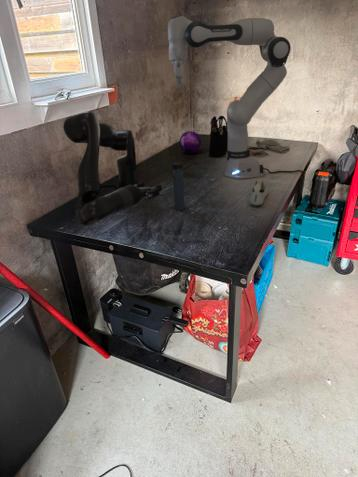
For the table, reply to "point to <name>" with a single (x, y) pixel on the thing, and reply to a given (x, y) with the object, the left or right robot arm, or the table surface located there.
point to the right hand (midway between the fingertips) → (179, 86)
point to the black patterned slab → (219, 139)
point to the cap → (177, 165)
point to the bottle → (178, 189)
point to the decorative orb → (190, 142)
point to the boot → (213, 124)
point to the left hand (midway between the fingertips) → (152, 186)
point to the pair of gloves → (267, 144)
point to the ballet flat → (258, 193)
